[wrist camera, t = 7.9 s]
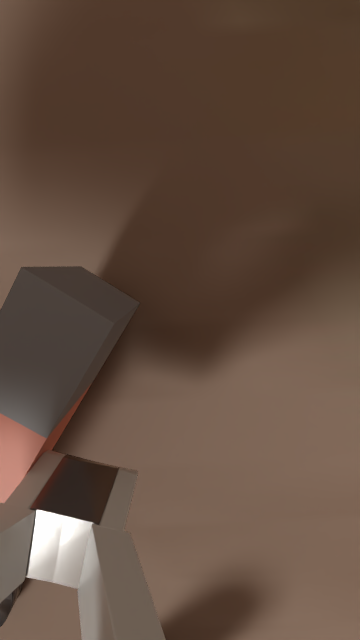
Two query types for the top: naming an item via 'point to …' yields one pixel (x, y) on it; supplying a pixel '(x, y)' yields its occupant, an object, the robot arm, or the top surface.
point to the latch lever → (51, 357)
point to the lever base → (8, 604)
